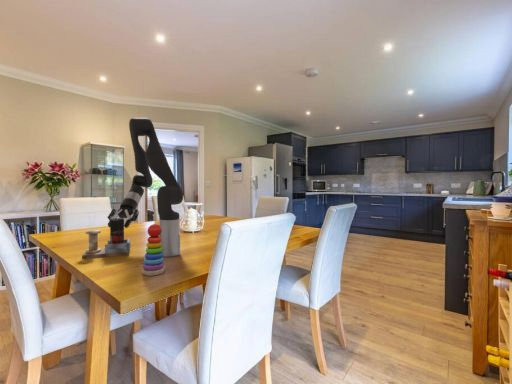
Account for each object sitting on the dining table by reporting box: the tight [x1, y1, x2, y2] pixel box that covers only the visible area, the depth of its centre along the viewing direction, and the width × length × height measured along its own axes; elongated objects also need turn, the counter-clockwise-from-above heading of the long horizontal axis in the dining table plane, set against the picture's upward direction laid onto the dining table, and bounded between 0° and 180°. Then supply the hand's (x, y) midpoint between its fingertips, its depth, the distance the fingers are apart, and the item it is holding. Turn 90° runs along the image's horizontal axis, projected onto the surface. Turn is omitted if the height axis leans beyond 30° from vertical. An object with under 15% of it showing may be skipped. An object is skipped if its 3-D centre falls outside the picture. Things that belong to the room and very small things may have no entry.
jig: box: [81, 229, 131, 260], centre depth 124 cm, size 19×11×12 cm, turn 114°
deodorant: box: [109, 218, 125, 244], centre depth 126 cm, size 6×6×15 cm
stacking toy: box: [141, 223, 165, 277], centre depth 98 cm, size 8×8×19 cm
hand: (117, 226), depth 126 cm, fingers open, 8 cm apart
